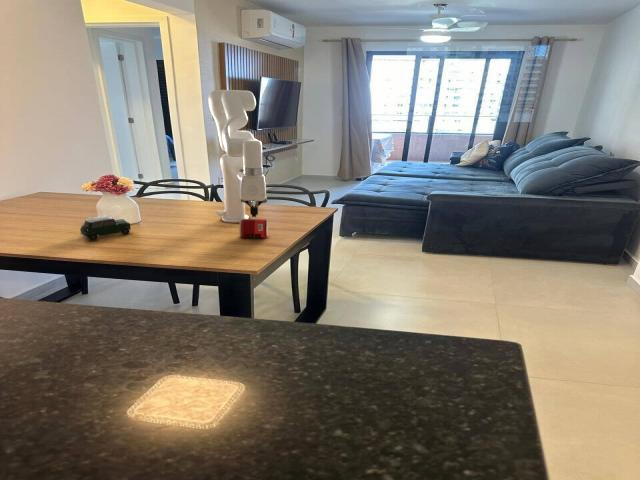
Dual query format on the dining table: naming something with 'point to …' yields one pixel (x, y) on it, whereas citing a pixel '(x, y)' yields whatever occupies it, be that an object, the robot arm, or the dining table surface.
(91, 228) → the miniature car
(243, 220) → the canned food
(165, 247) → the dining table surface
